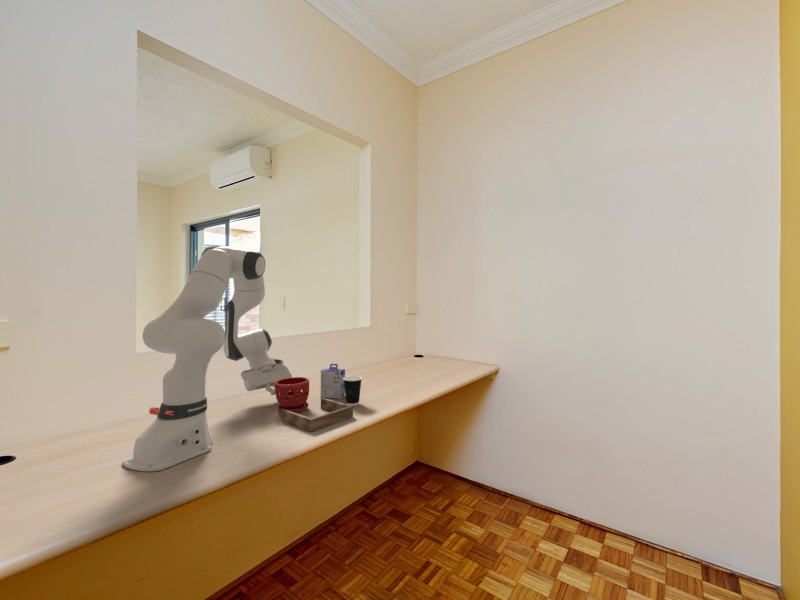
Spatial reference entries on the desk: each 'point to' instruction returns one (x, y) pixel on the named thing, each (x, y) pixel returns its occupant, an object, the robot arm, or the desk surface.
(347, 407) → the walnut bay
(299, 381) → the plant pot
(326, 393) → the ink cartridge box
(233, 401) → the desk surface
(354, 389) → the dixie cup
